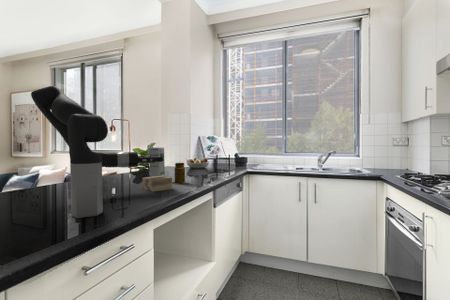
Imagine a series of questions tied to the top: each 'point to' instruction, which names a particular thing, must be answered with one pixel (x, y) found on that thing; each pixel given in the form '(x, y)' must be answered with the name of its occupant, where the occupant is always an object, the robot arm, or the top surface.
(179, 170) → the condiment
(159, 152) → the syrup box
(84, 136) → the robot arm
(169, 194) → the top surface
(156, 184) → the wooden block
